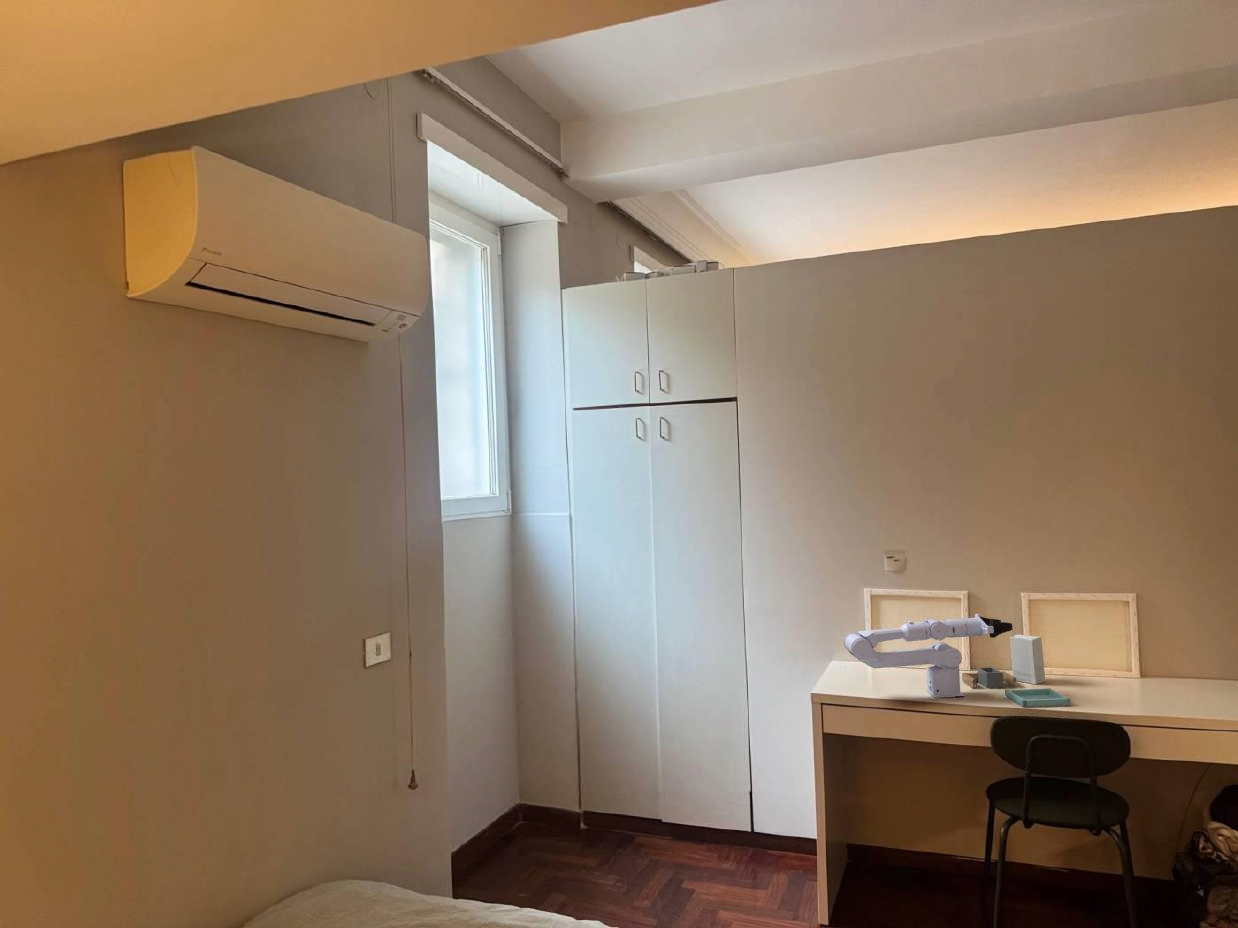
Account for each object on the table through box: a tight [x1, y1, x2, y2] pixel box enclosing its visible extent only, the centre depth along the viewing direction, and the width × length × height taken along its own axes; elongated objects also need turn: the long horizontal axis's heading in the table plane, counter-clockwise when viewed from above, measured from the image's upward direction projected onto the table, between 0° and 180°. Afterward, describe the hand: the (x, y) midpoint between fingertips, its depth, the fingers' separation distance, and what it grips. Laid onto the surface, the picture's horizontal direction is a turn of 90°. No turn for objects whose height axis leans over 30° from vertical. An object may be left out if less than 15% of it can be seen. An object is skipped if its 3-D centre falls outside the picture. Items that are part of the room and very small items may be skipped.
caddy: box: [977, 666, 1004, 689], centre depth 272 cm, size 5×7×5 cm
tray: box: [1004, 687, 1072, 708], centre depth 253 cm, size 14×12×2 cm
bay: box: [961, 671, 1017, 689], centre depth 273 cm, size 14×8×3 cm, turn 89°
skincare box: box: [1009, 633, 1046, 685], centre depth 275 cm, size 8×6×15 cm
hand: (1006, 624), depth 264 cm, fingers open, 7 cm apart
